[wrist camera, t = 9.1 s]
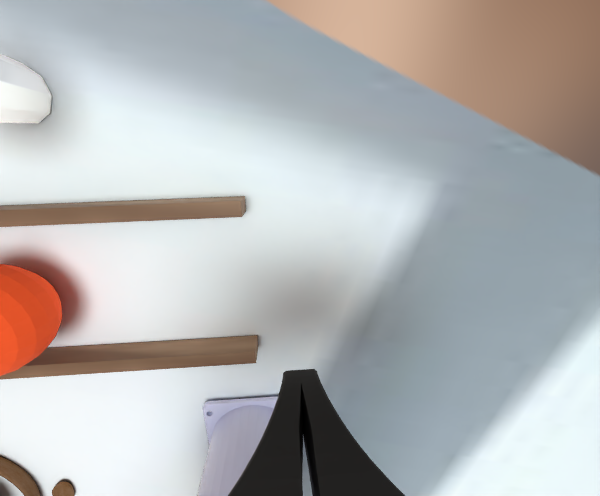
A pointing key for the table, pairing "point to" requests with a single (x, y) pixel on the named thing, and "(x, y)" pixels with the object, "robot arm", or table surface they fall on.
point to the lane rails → (141, 352)
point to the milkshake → (22, 93)
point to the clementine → (25, 316)
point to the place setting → (29, 480)
